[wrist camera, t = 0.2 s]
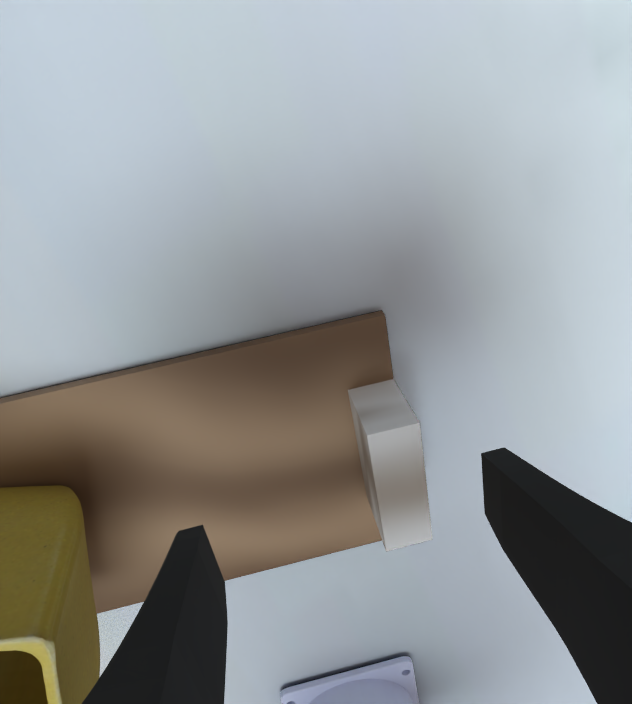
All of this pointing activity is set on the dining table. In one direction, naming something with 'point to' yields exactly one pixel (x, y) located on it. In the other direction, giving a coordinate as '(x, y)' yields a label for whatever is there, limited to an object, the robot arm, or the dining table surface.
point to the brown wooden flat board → (230, 454)
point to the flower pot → (45, 599)
